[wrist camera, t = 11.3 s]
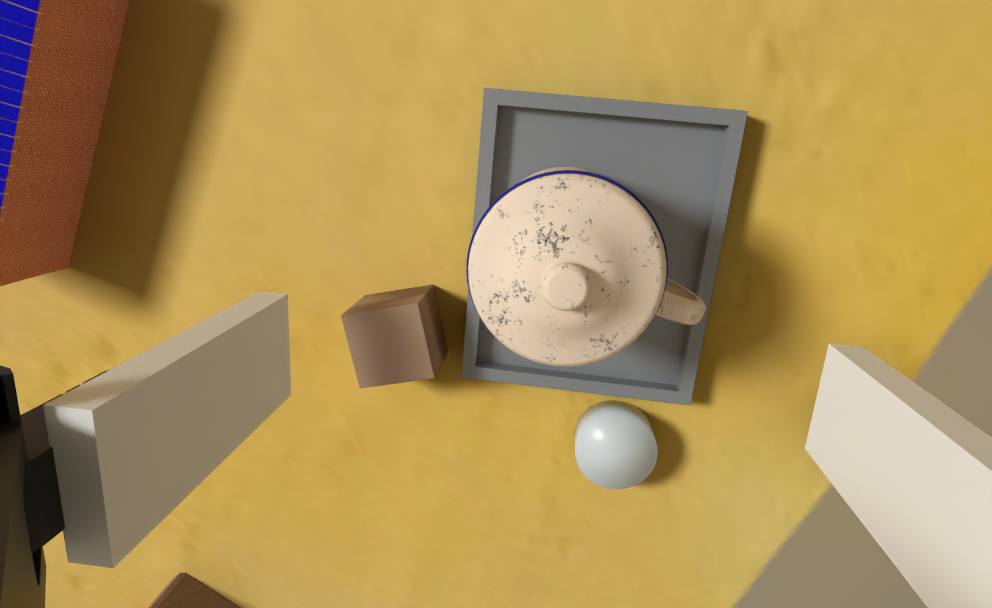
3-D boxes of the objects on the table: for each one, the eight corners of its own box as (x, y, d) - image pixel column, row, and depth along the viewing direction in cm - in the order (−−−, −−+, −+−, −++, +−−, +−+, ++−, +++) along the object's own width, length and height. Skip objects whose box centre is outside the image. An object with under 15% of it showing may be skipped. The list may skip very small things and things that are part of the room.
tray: (739, 112, 33) (747, 111, 32) (685, 394, 38) (690, 405, 37) (487, 90, 34) (484, 88, 33) (465, 367, 39) (461, 377, 38)
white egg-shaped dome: (658, 404, 39) (664, 421, 36) (645, 473, 40) (650, 494, 38) (579, 394, 39) (581, 411, 37) (569, 463, 40) (570, 483, 38)
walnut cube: (433, 284, 38) (417, 303, 34) (447, 351, 39) (434, 378, 35) (365, 295, 39) (341, 315, 34) (381, 360, 40) (360, 388, 35)
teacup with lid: (465, 282, 37) (425, 346, 26) (520, 137, 34) (501, 139, 23) (648, 354, 37) (688, 449, 26) (716, 215, 34) (793, 254, 23)
